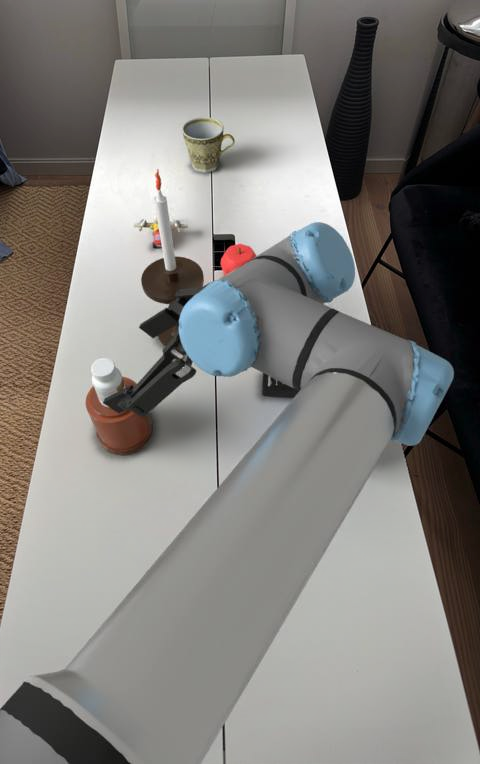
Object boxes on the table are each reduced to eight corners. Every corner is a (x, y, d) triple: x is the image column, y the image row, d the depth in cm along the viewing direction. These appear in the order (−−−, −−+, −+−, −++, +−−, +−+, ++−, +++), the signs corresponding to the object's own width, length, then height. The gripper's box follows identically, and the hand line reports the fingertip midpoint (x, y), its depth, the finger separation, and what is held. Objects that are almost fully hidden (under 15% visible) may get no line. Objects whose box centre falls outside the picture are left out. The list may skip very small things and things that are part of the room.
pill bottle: (130, 403, 85) (121, 373, 78) (102, 412, 84) (90, 382, 77) (124, 381, 87) (114, 351, 81) (96, 390, 86) (84, 359, 80)
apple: (258, 290, 113) (259, 261, 107) (220, 290, 113) (218, 261, 107) (259, 264, 118) (259, 234, 111) (222, 264, 118) (220, 234, 111)
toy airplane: (158, 256, 120) (154, 232, 115) (134, 236, 124) (129, 212, 119) (190, 237, 123) (188, 213, 118) (166, 218, 127) (162, 194, 122)
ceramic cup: (179, 173, 138) (175, 135, 130) (194, 151, 143) (191, 114, 135) (228, 182, 135) (227, 144, 127) (241, 160, 141) (240, 122, 133)
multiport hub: (323, 400, 97) (324, 392, 95) (261, 396, 98) (261, 388, 96) (323, 380, 100) (324, 372, 98) (263, 376, 100) (263, 368, 99)
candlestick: (166, 306, 111) (138, 144, 83) (216, 318, 109) (205, 157, 80) (143, 345, 105) (104, 186, 77) (196, 359, 103) (175, 201, 74)
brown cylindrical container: (127, 465, 90) (115, 432, 82) (86, 437, 93) (69, 403, 85) (163, 424, 95) (155, 389, 86) (123, 399, 98) (111, 363, 89)
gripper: (224, 419, 57) (118, 456, 72) (275, 260, 71) (177, 318, 86) (170, 379, 54) (70, 427, 68) (234, 221, 68) (140, 288, 82)
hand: (130, 366), depth 77 cm, fingers open, 13 cm apart
